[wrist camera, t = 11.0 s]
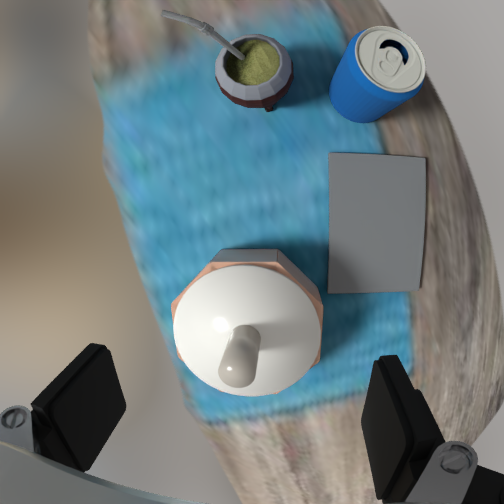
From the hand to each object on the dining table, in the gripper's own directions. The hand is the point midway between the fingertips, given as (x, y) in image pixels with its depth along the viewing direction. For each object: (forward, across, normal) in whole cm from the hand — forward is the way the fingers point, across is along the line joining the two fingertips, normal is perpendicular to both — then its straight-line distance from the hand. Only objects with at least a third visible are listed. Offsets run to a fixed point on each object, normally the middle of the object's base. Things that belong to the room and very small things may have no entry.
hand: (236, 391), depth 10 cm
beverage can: (+26, -10, -15) cm, 31 cm away
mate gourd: (+26, +1, -16) cm, 30 cm away
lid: (+19, +2, +9) cm, 21 cm away
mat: (+25, -12, -1) cm, 27 cm away
